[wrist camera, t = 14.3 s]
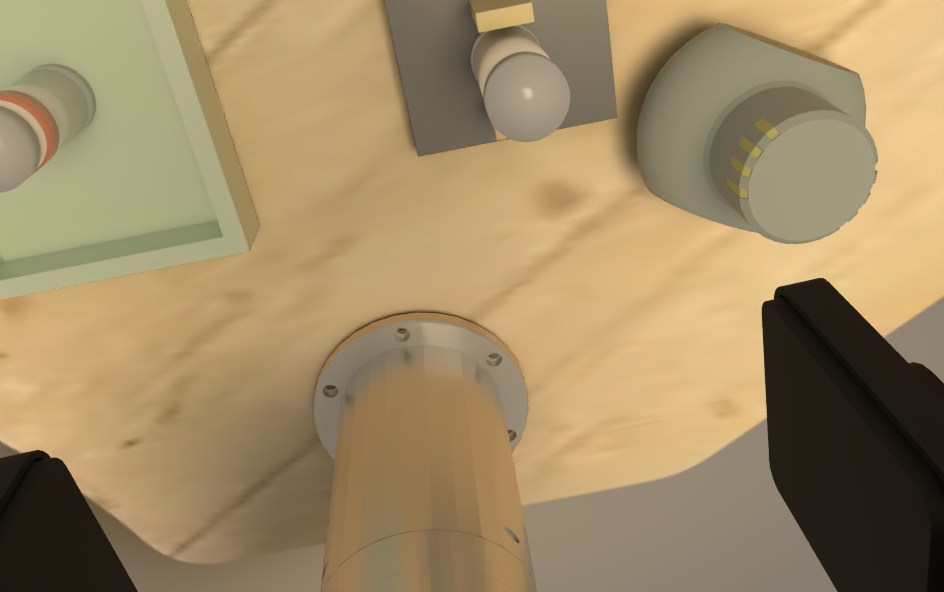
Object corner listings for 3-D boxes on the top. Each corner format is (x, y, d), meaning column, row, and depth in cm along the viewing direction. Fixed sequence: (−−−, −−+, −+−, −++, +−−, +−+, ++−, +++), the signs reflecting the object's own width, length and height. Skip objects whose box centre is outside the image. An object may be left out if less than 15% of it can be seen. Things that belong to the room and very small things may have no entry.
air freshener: (600, 158, 44) (651, 236, 35) (665, 1, 41) (739, 43, 32) (782, 214, 46) (872, 299, 38) (858, 69, 43) (977, 126, 34)
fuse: (543, 84, 40) (574, 133, 33) (475, 96, 40) (492, 148, 33) (535, 14, 39) (565, 50, 32) (464, 26, 39) (479, 65, 32)
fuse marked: (107, 126, 41) (46, 184, 34) (39, 139, 41) (-36, 200, 34) (80, 56, 39) (9, 102, 32) (9, 70, 39) (-77, 119, 32)
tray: (259, 224, 44) (249, 251, 41) (0, 275, 45) (-28, 305, 42) (151, -107, 37) (130, -103, 34) (-160, -44, 37) (-208, -35, 34)
